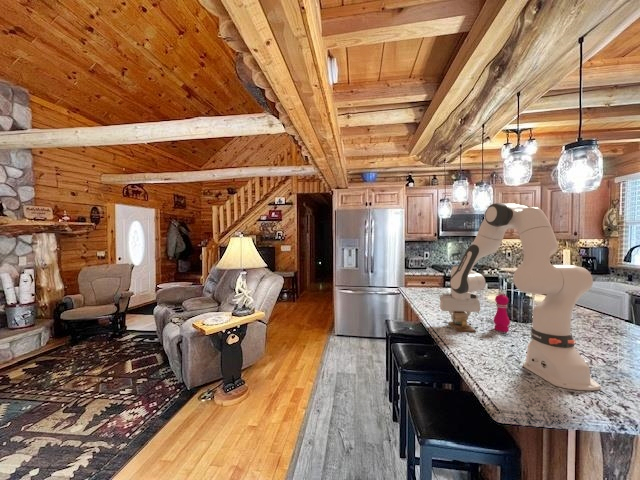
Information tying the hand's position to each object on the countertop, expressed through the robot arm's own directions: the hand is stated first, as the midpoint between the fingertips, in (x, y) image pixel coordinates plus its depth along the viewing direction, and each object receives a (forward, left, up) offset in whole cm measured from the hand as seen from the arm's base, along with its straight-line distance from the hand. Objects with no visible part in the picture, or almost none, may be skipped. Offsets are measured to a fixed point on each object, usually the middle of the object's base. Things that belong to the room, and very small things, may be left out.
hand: (459, 319), depth 157 cm
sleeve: (0, 0, -2) cm, 2 cm away
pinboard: (-3, 0, -4) cm, 5 cm away
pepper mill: (-4, -19, -4) cm, 20 cm away
